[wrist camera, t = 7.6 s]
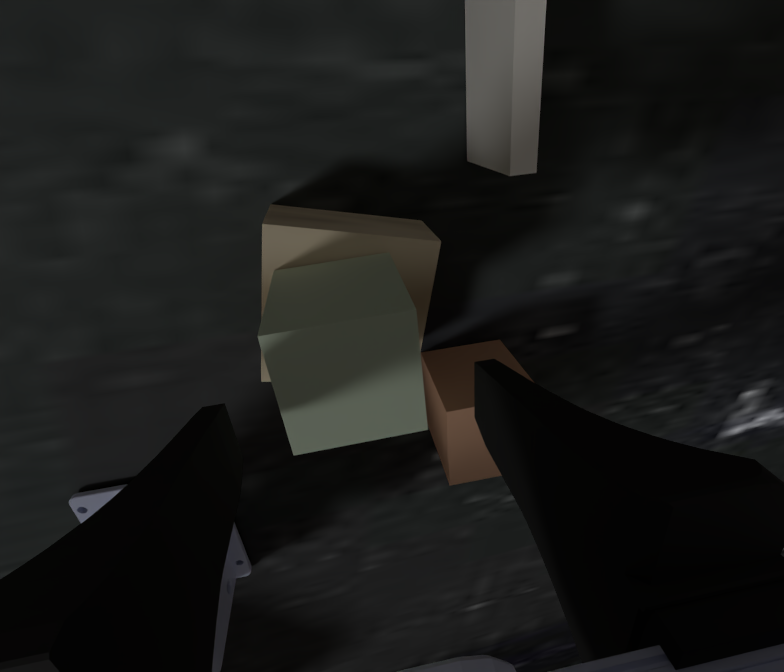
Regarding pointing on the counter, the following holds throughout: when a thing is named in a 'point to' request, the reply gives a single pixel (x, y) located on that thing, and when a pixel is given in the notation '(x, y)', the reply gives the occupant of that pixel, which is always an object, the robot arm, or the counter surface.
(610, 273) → the counter surface
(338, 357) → the sage block
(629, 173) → the counter surface
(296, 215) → the birch base block
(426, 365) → the terracotta block
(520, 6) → the placard
